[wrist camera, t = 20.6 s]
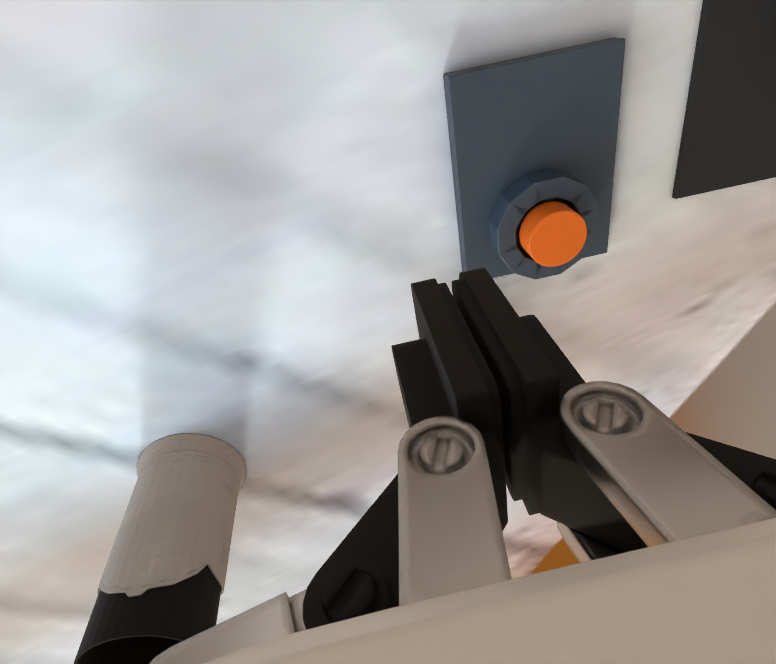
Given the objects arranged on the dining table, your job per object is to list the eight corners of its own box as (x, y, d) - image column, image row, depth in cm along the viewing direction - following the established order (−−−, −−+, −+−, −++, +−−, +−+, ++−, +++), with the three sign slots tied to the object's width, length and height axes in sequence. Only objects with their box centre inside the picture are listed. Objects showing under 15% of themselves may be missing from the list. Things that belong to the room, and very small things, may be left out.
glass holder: (235, 427, 39) (201, 618, 27) (265, 534, 47) (249, 720, 35) (122, 440, 39) (33, 644, 26) (171, 547, 46) (121, 743, 34)
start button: (518, 207, 30) (528, 217, 28) (575, 195, 30) (589, 204, 28) (519, 260, 32) (529, 272, 30) (573, 248, 32) (585, 260, 30)
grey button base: (442, 74, 28) (456, 79, 25) (614, 37, 28) (644, 39, 25) (462, 276, 35) (474, 296, 32) (598, 246, 35) (621, 263, 32)
